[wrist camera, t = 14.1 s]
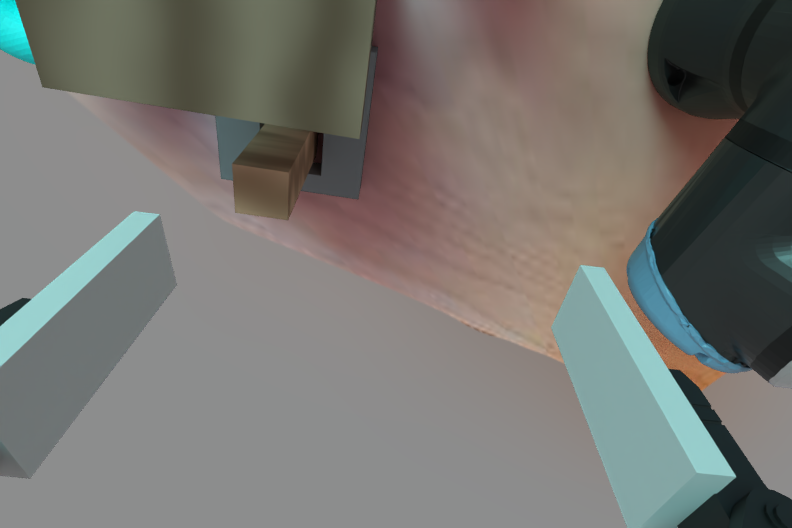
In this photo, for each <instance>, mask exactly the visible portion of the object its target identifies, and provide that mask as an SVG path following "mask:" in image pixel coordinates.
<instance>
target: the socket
mask: <svg viewBox="0 0 792 528" xmlns="http://www.w3.org/2000/svg"><path fill="white" fill-rule="evenodd" d="M377 51H378V47H374V46H371V55H370V63H369V72H368V80H367V89H366V97H365V106H364V114H363V123H362V129H361V134H360V138H359V139H356V138H350V137H343V136H337V135H331V134H325V133H324V138H323V154H322V164H321V163H315V162H313V163H312V166H311V168H310V170H309V173H308V175H307V177H306V180H305V182H304V184H303V186H302V189H301V191H306V192H313V193H319V194H326V195H332V196H339V197H346V198H352V199H358V198H359V192H360V186H361V178H362V170H363V162H364V154H365V147H366V139H367V131H368V123H369V115H370V107H371V99H372V91H373V83H374V75H375V67H376V59H377ZM215 116H216V115H215ZM264 125H265V124H264V123H258V122H252V121H246V120H240V119H234V118H228V117H222V116H216V127H217V138H218V149H219V161H220V172H221V179H226V180H233V171H232V163H233V162H234V161H235V160H236V158H237V157H238V156H239V155H240V154H241V152H242V151H243V150H244V149H245V148H246V146H247V145H248V144H249V143H250V142H251V140H252V139H253V138H254V137H255V136H256V134H257V133H258V132H259V131H260V129H261V128H262V127H263V126H264Z"/></svg>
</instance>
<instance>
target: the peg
mask: <svg viewBox="0 0 792 528" xmlns="http://www.w3.org/2000/svg"><path fill="white" fill-rule="evenodd" d="M317 140H318V132H313V131H307V130H301V129H295V128H289V127H283V126H276V125H270V124H265V125H264V126H263V127H262V128H261V129H260V131H259V132H258V133H257V134H256V136H255V137H254V138H253V139H252V140H251V142H250V143H249V144H248V145H247V146H246V148H245V149H244V150H243V151H242V152H241V154H240V155H239V156H238V157H237V158H236V160H235V161H234V162H233V163H232V171H233V185H234V200H235V213H241V214H248V215H255V216H262V217H269V218H276V219H283V220H288V219H289V217H290V214H291V212H292V210H293V207H294V205H295V203H296V200H297V198H298V196H299V193H300V191H301V189H302V186H303V184H304V182H305V180H306V177H307V175H308V173H309V170H310V168H311V166H312V163H313V161H314V159H315V156H316V154H317Z"/></svg>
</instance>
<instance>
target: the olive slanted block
mask: <svg viewBox="0 0 792 528" xmlns="http://www.w3.org/2000/svg"><path fill="white" fill-rule="evenodd" d="M15 2H16V5H17V8H18V11H19V14H20V18H21V21H22V24H23V27H24V30H25V33H26V36H27V40H28V43H29V46H30V49H31V52H32V55H33V58H34V62H35V65H36V68H37V71H38V74H39V77H40V80H41V84H42V87H45V88H51V89H57V90H63V91H69V92H75V93H81V94H88V95H94V96H100V97H106V98H112V99H118V100H124V101H130V102H136V103H142V104H149V105H155V106H161V107H167V108H173V109H179V110H185V111H191V112H197V113H203V114H209V115H216V116H222V117H228V118H234V119H240V120H246V121H252V122H258V123H264V124H270V125H276V126H283V127H289V128H295V129H301V130H307V131H313V132H319V133H325V134H331V135H337V136H343V137H350V138H356V139H359V138H360V134H361V129H362V123H363V114H364V106H365V97H366V89H367V80H368V72H369V63H370V55H371V46H372V38H373V29H374V21H375V12H376V4H377V0H15Z"/></svg>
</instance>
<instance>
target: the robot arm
mask: <svg viewBox="0 0 792 528" xmlns="http://www.w3.org/2000/svg"><path fill="white" fill-rule="evenodd" d="M648 67H649V73H650V77H651V80H652V82H653V85H654V87H655V88H656V90H657V92H658V93H659V94H660V95H661V97H662V98H663V99H664V100H665V101H667V102H668V103H669V104H671V105H672V106H674V107H676V108H678V109H680V110H682V111H684V112H686V113H688V114H690V115H694V116H697V117H702V118H708V119H739V121H738V122H737V123H736V124H735V126H734V127H733V128H732V129H731V131H730V132H729V133H728V134H727V135H726V137H724V139H723V140H722V141H721V142H720V144H719V145H718V146H717V147H716V148H715V150H714V151H713V152H712V153H711V155H710V156H709V157H708V158H707V160H706V161H705V162H704V163H703V165H702V166H701V167H700V168H699V169H698V171H697V172H696V173H695V174H694V176H693V177H692V178H691V179H690V180H689V182H688V183H687V184H686V185H685V186H684V188H683V189H682V190H681V191H680V192H679V194H678V195H677V196H676V197H675V198H674V200H673V201H672V202H671V203H670V204H669V206H668V207H667V208H666V209H665V210H664V212H663V213H662V214H661V215H660V216H659V218H657V219H656V220H654V221H653V222H652V223H651V224H650V226H649V227H648V230H647V232H646V235H645V237H644V238H643V240H642V241H641V242H640V244H639V245H638V246H637V248H636V249H635V250H634V252H633V253H632V255H631V256H630V258H629V260H628V264H627V276H628V285H629V288H630V290H631V293H632V295H633V297H634V299H635V300H636V302H637V304H638V305H639V307H640V308H641V310H642V311H643V313H644V314H645V315H646V316H647V318H648V319H649V320H650V321H651V322H652V323H653V325H654V326H655V327H656V328H657V329H658V330H659V331H660V332H661V333H662V334H663V335H664V336H665V337H666V338H667V339H668V340H669V341H671V342H672V343H673V344H674V345H675V346H677V347H678V348H679V349H681V350H682V351H683V352H685V353H686V354H688V355H695V356H696V357H697V358H698V360H699V361H700V362H701V363H702V364H704V365H706V366H708V367H710V368H712V369H715V370H718V371H721V372H727V373H739V372H745V371H750V370H752V369H753V370H754V371H756V372H757V373H758V374H759V375H761V376H762V377H763V378H764V379H765V380H766V381H768V382H769V383H770V384H772V385H773V386H775V387H782V388H791V389H792V0H663V2H662V4H661V6H660V8H659V11H658V13H657V15H656V18H655V21H654V24H653V27H652V30H651V34H650V39H649V45H648ZM176 285H177V283H176V279H175V275H174V271H173V267H172V263H171V258H170V254H169V250H168V246H167V242H166V239H165V234H164V230H163V226H162V221H161V217H160V214H153V213H144V212H136V211H134V212H133V213H132V214H130V215H129V216H128V217H127V218H126V219H125V220H123V221H122V222H121V223H120V224H119V225H118V226H117V227H115V228H114V229H113V230H112V231H111V232H109V234H107V235H106V236H105V237H104V238H103V239H101V240H100V241H99V242H98V243H97V244H96V245H94V246H93V247H92V248H91V249H90V250H89V251H87V252H86V253H85V254H84V255H83V256H82V257H80V258H79V259H78V260H77V261H76V262H75V263H73V264H72V265H71V266H70V267H69V268H68V269H67V270H65V271H64V272H63V273H62V274H61V275H59V276H58V277H57V278H56V279H55V280H54V281H52V282H51V283H50V284H49V285H48V286H47V287H45V288H44V289H43V290H42V291H41V292H40V293H38V294H37V295H36V296H35V297H34V298H33V299H27V298H22V299H20V300H18V301H16V302H14V303H12V304H10V305H8V306H6V307H4V308H2V309H0V476H7V477H8V476H9V477H18V478H28V479H30V478H31V477H32V476H33V474H34V473H35V472H36V470H37V469H38V468H39V466H40V465H41V464H42V462H43V461H44V460H45V458H46V457H47V456H48V454H49V453H50V452H51V450H52V449H53V448H54V447H55V445H56V444H57V443H58V441H59V440H60V439H61V437H62V436H63V435H64V433H65V432H66V431H67V429H68V428H69V427H70V425H71V424H72V423H73V421H74V420H75V419H76V417H77V416H78V415H79V413H80V412H81V411H82V409H83V408H84V407H85V406H86V404H87V403H88V402H89V400H90V399H91V398H92V396H93V395H94V394H95V392H96V391H97V390H98V388H99V387H100V386H101V384H102V383H103V382H104V380H105V379H106V378H107V377H108V375H109V374H110V372H111V371H112V370H113V369H114V367H115V366H116V364H117V363H118V362H119V361H120V359H121V358H122V357H123V355H124V354H125V353H126V351H127V350H128V349H129V347H130V346H131V345H132V343H133V342H134V341H135V340H136V338H137V337H138V336H139V334H140V333H141V332H142V330H143V329H144V327H145V326H146V325H147V324H148V322H149V321H150V320H151V318H152V317H153V316H154V314H155V313H156V312H157V310H158V309H159V308H160V306H161V305H162V304H163V303H164V301H165V300H166V299H167V297H168V296H169V295H170V293H171V292H172V291H173V289H174V288H175V287H176ZM551 328H552V331H553V334H554V336H555V339H556V342H557V344H558V347H559V349H560V352H561V355H562V357H563V360H564V363H565V365H566V368H567V371H568V373H569V376H570V378H571V381H572V383H573V386H574V389H575V391H576V394H577V397H578V399H579V402H580V405H581V407H582V410H583V413H584V415H585V418H586V420H587V423H588V426H589V428H590V431H591V433H592V436H593V438H594V441H595V444H596V447H597V449H598V452H599V454H600V457H601V459H602V462H603V465H604V468H605V470H606V473H607V476H608V478H609V481H610V483H611V486H612V489H613V491H614V494H615V496H616V499H617V502H618V504H619V507H620V510H621V512H622V515H623V518H624V520H625V523H626V526H627V528H677V527H678V528H792V500H791V499H790V498H788V497H786V496H784V495H782V494H780V493H778V492H776V491H774V490H769V489H768V488H767V487H766V485H765V484H764V483H763V481H762V480H761V478H760V477H759V476H758V474H757V473H756V471H755V470H754V468H753V467H752V465H751V464H750V462H749V461H748V460H747V458H746V456H745V455H744V453H743V452H742V451H741V449H740V448H739V446H738V445H737V443H736V442H735V440H734V439H733V437H732V436H731V434H730V433H729V431H728V430H727V429H726V427H725V426H724V425H722V424H721V422H722V421H721V420H720V418H719V417H718V415H717V414H716V412H715V411H714V410H712V409H711V405H710V403H709V402H708V400H707V399H706V397H705V396H704V395H703V393H702V392H701V390H700V389H699V387H698V386H697V385H696V384H694V383H693V382H692V381H691V380H690V379H689V378H688V377H687V376H686V375H685V374H684V373H682V372H681V371H680V370H674V369H668V368H667V367H666V365H665V363H664V362H663V360H662V359H661V357H660V356H659V354H658V352H657V351H656V349H655V348H654V346H653V345H652V343H651V341H650V340H649V338H648V337H647V335H646V333H645V332H644V330H643V329H642V327H641V326H640V324H639V322H638V321H637V319H636V318H635V316H634V315H633V313H632V311H631V310H630V308H629V307H628V305H627V304H626V302H625V300H624V299H623V297H622V296H621V294H620V292H619V291H618V289H617V288H616V286H615V285H614V283H613V281H612V280H611V278H610V277H609V275H608V274H607V272H606V270H605V269H604V268H601V267H592V266H584V265H580V267H579V269H578V271H577V273H576V275H575V278H574V280H573V282H572V284H571V286H570V288H569V290H568V293H567V295H566V297H565V299H564V301H563V303H562V305H561V308H560V310H559V312H558V314H557V316H556V318H555V320H554V323H553V325H552V327H551Z"/></svg>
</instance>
